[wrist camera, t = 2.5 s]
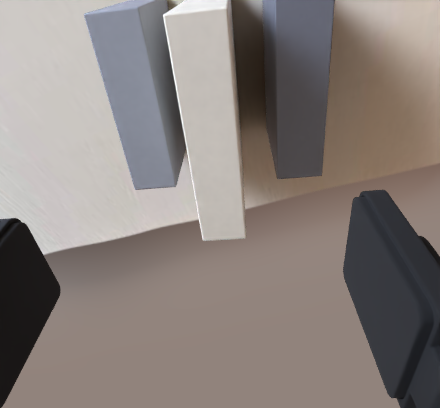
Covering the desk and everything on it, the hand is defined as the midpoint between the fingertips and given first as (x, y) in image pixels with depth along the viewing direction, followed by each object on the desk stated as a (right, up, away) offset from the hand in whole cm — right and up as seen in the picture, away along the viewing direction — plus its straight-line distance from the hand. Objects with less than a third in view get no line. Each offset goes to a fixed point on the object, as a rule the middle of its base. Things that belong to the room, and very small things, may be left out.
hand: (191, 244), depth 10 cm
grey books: (+1, +12, +18) cm, 22 cm away
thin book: (+1, +12, +18) cm, 22 cm away
